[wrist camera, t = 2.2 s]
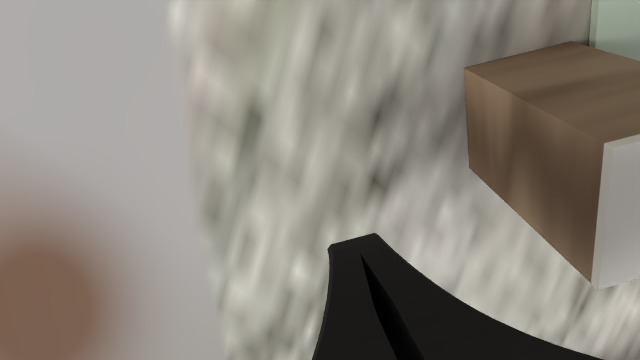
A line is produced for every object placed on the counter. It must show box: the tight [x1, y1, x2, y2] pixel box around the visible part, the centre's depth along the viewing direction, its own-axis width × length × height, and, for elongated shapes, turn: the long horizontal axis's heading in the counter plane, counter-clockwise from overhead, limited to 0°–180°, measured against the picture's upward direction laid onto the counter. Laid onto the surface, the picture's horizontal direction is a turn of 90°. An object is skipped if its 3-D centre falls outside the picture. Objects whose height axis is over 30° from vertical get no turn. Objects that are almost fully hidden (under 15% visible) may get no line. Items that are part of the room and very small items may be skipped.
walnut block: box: [464, 41, 640, 290], centre depth 16 cm, size 4×4×8 cm
